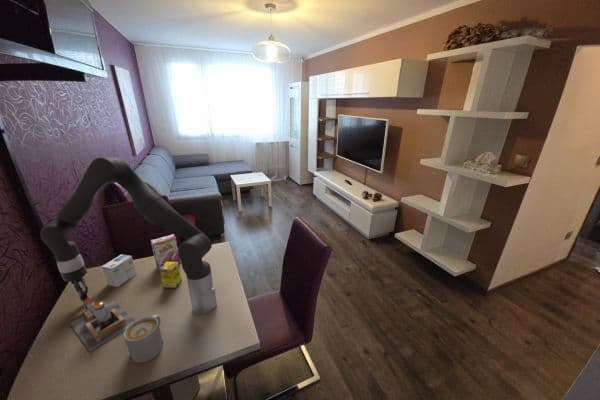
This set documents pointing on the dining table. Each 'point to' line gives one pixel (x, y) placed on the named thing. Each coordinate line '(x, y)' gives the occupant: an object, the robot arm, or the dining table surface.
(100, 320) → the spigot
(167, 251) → the candy bar box
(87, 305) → the pin
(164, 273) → the supplement box
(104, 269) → the light bulb box
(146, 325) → the coffee mug
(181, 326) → the dining table surface
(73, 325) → the dock
